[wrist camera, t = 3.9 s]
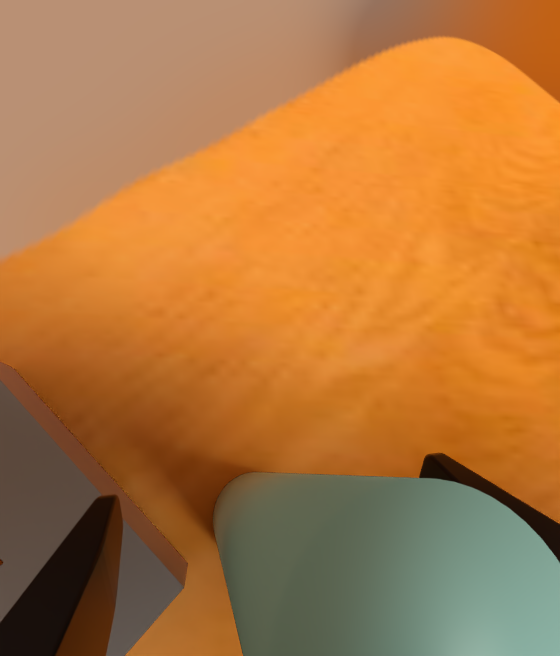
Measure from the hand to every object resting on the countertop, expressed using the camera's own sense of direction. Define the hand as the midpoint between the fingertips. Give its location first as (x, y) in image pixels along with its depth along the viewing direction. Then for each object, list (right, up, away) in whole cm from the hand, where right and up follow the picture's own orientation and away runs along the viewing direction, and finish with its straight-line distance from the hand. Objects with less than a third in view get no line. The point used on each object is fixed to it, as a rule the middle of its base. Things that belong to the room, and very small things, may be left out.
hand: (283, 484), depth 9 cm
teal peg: (-1, -4, +6) cm, 7 cm away
